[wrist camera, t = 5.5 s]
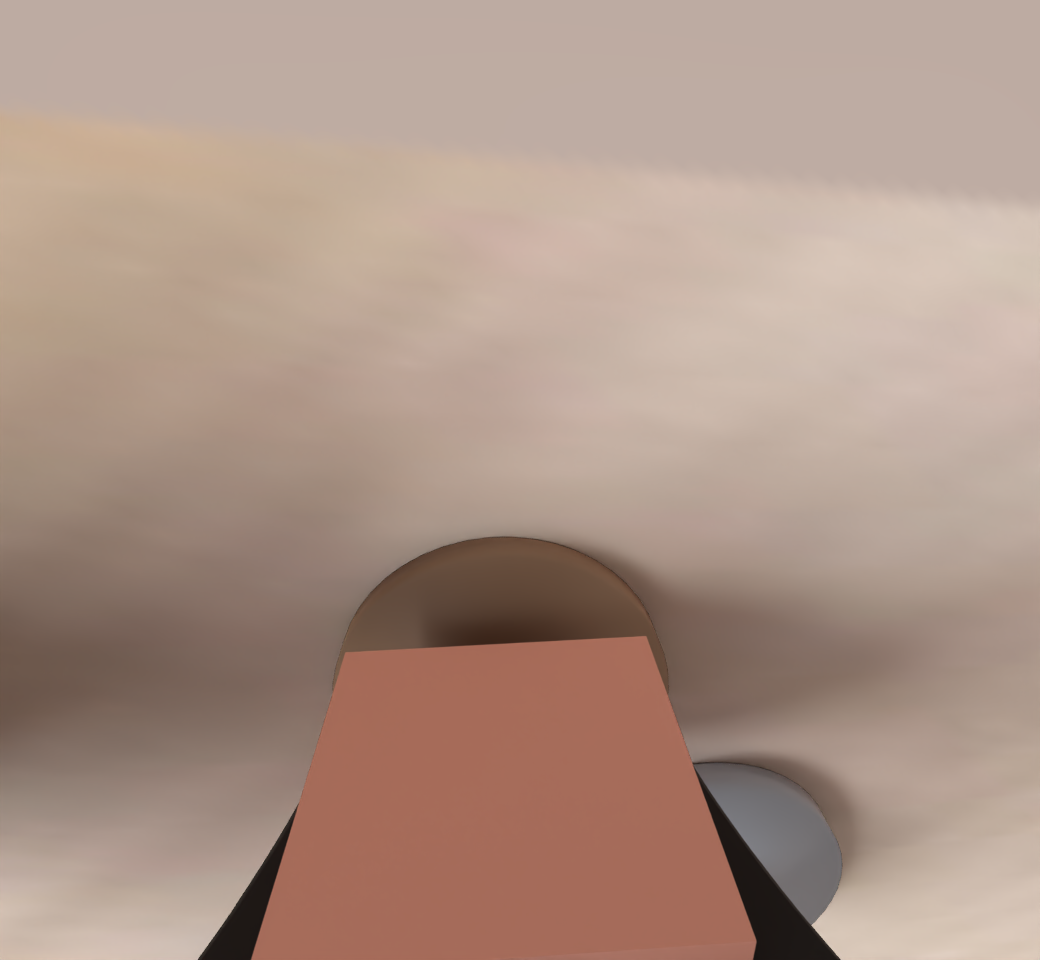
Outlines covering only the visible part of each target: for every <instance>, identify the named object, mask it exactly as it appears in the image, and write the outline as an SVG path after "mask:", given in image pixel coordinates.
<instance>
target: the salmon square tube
mask: <svg viewBox="0 0 1040 960" xmlns="http://www.w3.org/2000/svg"><path fill="white" fill-rule="evenodd" d="M756 942H757V941H756V938H755V935H754V933H753V930H752V927H751V924H750V922H749V919H748V916H747V913H746V911H745V908H744V905H743V902H742V899H741V897H740V894H739V891H738V888H737V886H736V883H735V880H734V877H733V875H732V872H731V869H730V866H729V863H728V861H727V858H726V855H725V852H724V850H723V847H722V844H721V841H720V839H719V836H718V833H717V830H716V828H715V825H714V822H713V819H712V816H711V814H710V811H709V808H708V805H707V803H706V800H705V797H704V794H703V792H702V789H701V786H700V783H699V781H698V778H697V775H696V772H695V769H694V767H693V764H692V761H691V758H690V756H689V753H688V750H687V747H686V745H685V742H684V739H683V736H682V733H681V731H680V728H679V725H678V722H677V720H676V717H675V714H674V711H673V709H672V706H671V703H670V700H669V698H668V695H667V692H666V689H665V686H664V684H663V681H662V678H661V675H660V673H659V670H658V667H657V664H656V662H655V659H654V656H653V653H652V651H651V648H650V645H649V642H648V639H647V637H646V636H637V637H619V638H600V639H582V640H563V641H545V642H527V643H508V644H490V645H471V646H453V647H434V648H416V649H397V650H379V651H361V652H345V655H344V658H343V662H342V665H341V668H340V672H339V675H338V678H337V681H336V685H335V688H334V691H333V694H332V698H331V701H330V704H329V707H328V711H327V714H326V717H325V720H324V724H323V727H322V730H321V733H320V737H319V740H318V743H317V746H316V750H315V753H314V756H313V759H312V763H311V766H310V769H309V773H308V776H307V779H306V782H305V786H304V789H303V792H302V795H301V799H300V802H299V805H298V808H297V812H296V815H295V818H294V821H293V825H292V828H291V831H290V834H289V838H288V841H287V844H286V847H285V851H284V854H283V857H282V861H281V864H280V867H279V870H278V874H277V877H276V880H275V883H274V887H273V890H272V893H271V896H270V900H269V903H268V906H267V909H266V913H265V916H264V919H263V922H262V926H261V929H260V932H259V935H258V939H257V942H256V945H255V949H254V952H253V955H252V958H251V960H753V957H754V952H755V947H756Z"/></svg>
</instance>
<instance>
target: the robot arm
mask: <svg viewBox="0 0 1040 960" xmlns="http://www.w3.org/2000/svg"><path fill="white" fill-rule="evenodd" d="M693 767H694V766H693ZM694 769H695V767H694ZM695 772H696V775H697V778H698V781H699V783H700V786H701V789H702V792H703V794H704V797H705V800H706V803H707V805H708V808H709V811H710V814H711V816H712V819H713V822H714V825H715V828H716V830H717V833H718V836H719V839H720V841H721V844H722V847H723V850H724V852H725V855H726V858H727V861H728V863H729V866H730V869H731V872H732V875H733V877H734V880H735V883H736V886H737V888H738V891H739V894H740V897H741V899H742V902H743V905H744V908H745V911H746V913H747V916H748V919H749V922H750V924H751V927H752V930H753V933H754V935H755V938H756V941H757V942H756V947H755V952H754V957H753V960H840V958H839V957H838V956H837V955H836V954H835V953H834V952H833V950H832V949H831V948H830V947H829V946H828V945H827V944H826V942H825V941H824V940H823V939H822V938H821V936H820V935H819V934H818V933H817V932H816V931H815V929H814V928H813V927H812V926H811V925H810V923H809V922H808V921H807V920H806V919H805V917H804V916H803V915H802V914H801V913H800V911H799V910H798V909H797V908H796V907H795V905H794V904H793V903H792V902H791V900H790V899H789V898H788V897H787V895H786V894H785V893H784V892H783V890H782V889H781V888H780V887H779V885H778V884H777V883H776V881H775V880H774V879H773V877H772V876H771V875H770V874H769V872H768V871H767V870H766V868H765V867H764V866H763V864H762V863H761V862H760V861H759V859H758V858H757V857H756V855H755V854H754V853H753V851H752V850H751V849H750V847H749V846H748V845H747V843H746V842H745V841H744V839H743V838H742V837H741V835H740V834H739V832H738V831H737V830H736V828H735V827H734V825H733V824H732V822H731V821H730V820H729V818H728V817H727V815H726V814H725V813H724V811H723V810H722V808H721V807H720V805H719V804H718V802H717V801H716V800H715V798H714V797H713V795H712V794H711V792H710V791H709V789H708V788H707V786H706V785H705V783H704V781H703V780H702V778H701V777H700V775H699V774H698V772H697V771H696V769H695ZM298 805H299V804H298ZM297 808H298V806H297V807H296V809H295V811H294V813H293V814H292V816H291V818H290V819H289V821H288V823H287V825H286V826H285V828H284V830H283V831H282V833H281V835H280V836H279V838H278V840H277V841H276V843H275V845H274V846H273V848H272V849H271V851H270V853H269V854H268V856H267V858H266V859H265V861H264V862H263V864H262V866H261V867H260V869H259V870H258V872H257V873H256V875H255V876H254V878H253V879H252V881H251V883H250V884H249V886H248V887H247V889H246V890H245V892H244V893H243V895H242V896H241V898H240V899H239V901H238V902H237V904H236V906H235V907H234V909H233V910H232V912H231V913H230V915H229V916H228V918H227V919H226V920H225V922H224V923H223V925H222V926H221V928H220V929H219V930H218V932H217V933H216V935H215V936H214V937H213V939H212V940H211V942H210V943H209V945H208V946H207V947H206V949H205V950H204V952H203V953H202V954H201V956H200V957H199V959H198V960H251V958H252V955H253V952H254V949H255V945H256V942H257V939H258V935H259V932H260V929H261V926H262V922H263V919H264V916H265V913H266V909H267V906H268V903H269V900H270V896H271V893H272V890H273V887H274V883H275V880H276V877H277V874H278V870H279V867H280V864H281V861H282V857H283V854H284V851H285V847H286V844H287V841H288V838H289V834H290V831H291V828H292V825H293V821H294V818H295V815H296V812H297Z"/></svg>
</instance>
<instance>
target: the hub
mask: <svg viewBox="0 0 1040 960" xmlns="http://www.w3.org/2000/svg"><path fill="white" fill-rule="evenodd" d="M637 636H646V637H647V639H648V642H649V645H650V648H651V651H652V653H653V656H654V659H655V662H656V664H657V667H658V670H659V673H660V675H661V678H662V681H663V684H664V686H665V689H666V692H667V695H668V689H669V685H668V669H667V665H666V660H665V656H664V652H663V650H662V647H661V645H660V642H659V640H658V637H657V635H656V632H655V629H654V627H653V624H652V622H651V620H650V617H649V615H648V613H647V611H646V609H645V608H644V606H643V604H642V603H641V601H640V600H639V598H638V597H637V596H636V594H635V593H634V592H633V591H632V590H631V588H630V587H629V586H628V585H627V584H626V583H625V582H624V581H623V580H622V579H620V578H619V577H618V576H617V575H616V574H615V573H614V572H613V571H611V570H610V569H608V568H607V567H605V566H604V565H602V564H601V563H599V562H598V561H596V560H594V559H592V558H590V557H588V556H586V555H584V554H582V553H580V552H578V551H575V550H572V549H570V548H567V547H564V546H561V545H558V544H554V543H549V542H545V541H540V540H535V539H526V538H514V537H499V538H483V539H476V540H469V541H463V542H459V543H456V544H452V545H448V546H444V547H441V548H439V549H436V550H434V551H431V552H429V553H426V554H424V555H421V556H419V557H418V558H416V559H414V560H412V561H410V562H408V563H407V564H405V565H403V566H402V567H400V568H399V569H397V570H396V571H395V572H393V573H392V574H391V575H389V576H388V577H386V578H385V579H384V580H383V581H382V582H381V583H380V584H379V585H378V586H377V587H376V588H375V589H374V590H373V591H372V592H371V593H370V594H369V595H368V597H367V598H366V599H365V601H364V602H363V603H362V604H361V606H360V607H359V609H358V610H357V612H356V614H355V616H354V617H353V619H352V621H351V623H350V625H349V628H348V631H347V633H346V636H345V639H344V642H343V645H342V648H341V651H340V654H339V658H338V661H337V664H336V668H335V674H334V679H333V691H334V688H335V685H336V681H337V678H338V675H339V672H340V668H341V665H342V662H343V658H344V655H345V652H361V651H379V650H397V649H416V648H434V647H453V646H471V645H490V644H508V643H527V642H545V641H563V640H582V639H600V638H619V637H637Z"/></svg>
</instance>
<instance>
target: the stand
mask: <svg viewBox="0 0 1040 960" xmlns="http://www.w3.org/2000/svg"><path fill="white" fill-rule="evenodd" d="M693 766H694V767H695V769H696V771H697V772H698V774H699V775H700V777H701V778H702V780H703V781H704V783H705V785H706V786H707V788H708V789H709V791H710V792H711V794H712V795H713V797H714V798H715V800H716V801H717V802H718V804H719V805H720V807H721V808H722V810H723V811H724V813H725V814H726V815H727V817H728V818H729V820H730V821H731V822H732V824H733V825H734V827H735V828H736V830H737V831H738V832H739V834H740V835H741V837H742V838H743V839H744V841H745V842H746V843H747V845H748V846H749V847H750V849H751V850H752V851H753V853H754V854H755V855H756V857H757V858H758V859H759V861H760V862H761V863H762V864H763V866H764V867H765V868H766V870H767V871H768V872H769V874H770V875H771V876H772V877H773V879H774V880H775V881H776V883H777V884H778V885H779V887H780V888H781V889H782V890H783V892H784V893H785V894H786V895H787V897H788V898H789V899H790V900H791V902H792V903H793V904H794V905H795V907H796V908H797V909H798V910H799V911H800V913H801V914H802V915H803V916H804V917H805V919H806V920H807V921H808V922H809V923H810V925H812V924H813V923H814V922H815V921H816V920H817V919H818V918H819V917H820V915H821V914H822V913H823V912H824V911H825V909H826V908H827V906H828V905H829V904H830V902H831V901H832V899H833V897H834V895H835V893H836V891H837V889H838V885H839V882H840V879H841V873H842V856H841V851H840V848H839V845H838V842H837V840H836V838H835V836H834V834H833V832H832V831H831V829H830V827H829V825H828V823H827V821H826V820H825V818H824V816H823V814H822V812H821V811H820V809H819V807H818V805H817V803H816V802H815V801H814V800H813V798H812V797H811V796H810V795H809V794H808V793H807V792H806V791H805V790H804V789H802V788H801V787H800V786H799V785H798V784H796V783H794V782H793V781H791V780H789V779H788V778H786V777H784V776H782V775H779V774H777V773H774V772H772V771H769V770H766V769H762V768H758V767H755V766H748V765H742V764H732V763H705V764H695V765H693Z"/></svg>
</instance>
